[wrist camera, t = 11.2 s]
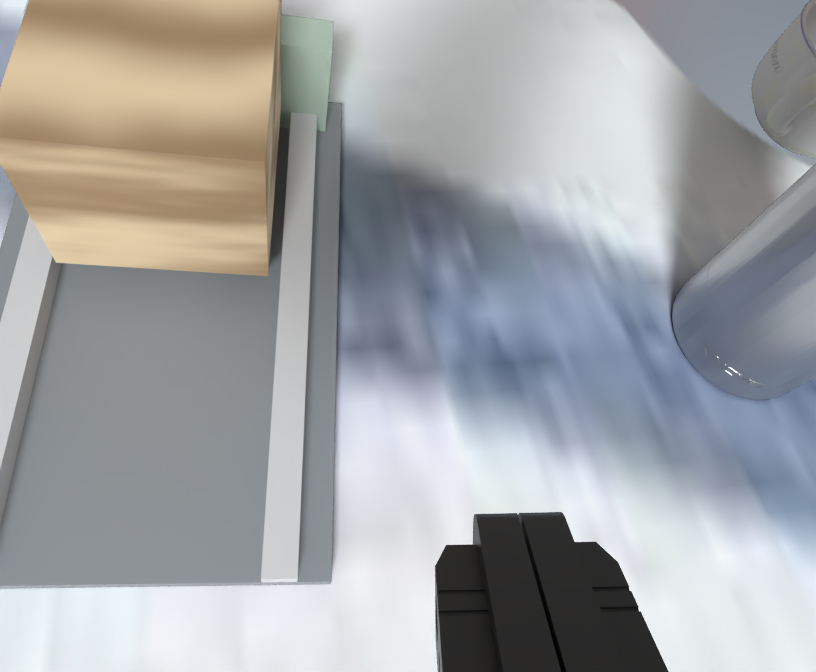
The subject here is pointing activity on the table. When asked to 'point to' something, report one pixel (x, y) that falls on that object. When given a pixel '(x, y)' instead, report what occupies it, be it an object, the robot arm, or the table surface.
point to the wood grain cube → (147, 131)
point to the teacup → (790, 86)
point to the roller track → (180, 390)
